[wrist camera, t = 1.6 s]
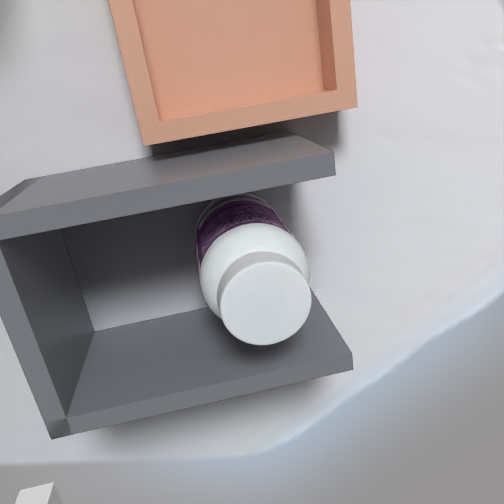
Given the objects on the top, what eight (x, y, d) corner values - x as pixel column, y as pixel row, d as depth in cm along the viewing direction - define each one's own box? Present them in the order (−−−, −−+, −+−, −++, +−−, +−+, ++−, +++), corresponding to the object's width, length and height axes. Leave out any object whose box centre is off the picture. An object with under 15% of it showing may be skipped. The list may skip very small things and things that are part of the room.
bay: (82, 348, 29) (51, 439, 22) (24, 179, 25) (-39, 222, 18) (310, 299, 31) (353, 369, 23) (289, 131, 27) (333, 151, 19)
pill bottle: (175, 235, 28) (174, 310, 19) (237, 172, 27) (267, 218, 18) (238, 290, 30) (264, 381, 21) (298, 231, 29) (352, 300, 20)
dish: (147, 138, 26) (143, 145, 23) (90, -100, 21) (77, -127, 19) (338, 104, 26) (357, 107, 24) (319, -131, 22) (339, -160, 20)
